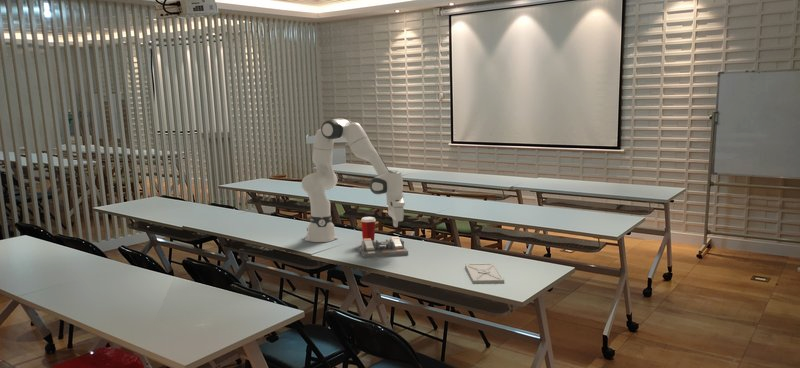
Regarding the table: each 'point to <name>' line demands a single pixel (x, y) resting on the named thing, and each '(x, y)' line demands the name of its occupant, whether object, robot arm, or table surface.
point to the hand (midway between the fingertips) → (395, 226)
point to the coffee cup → (368, 227)
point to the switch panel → (383, 250)
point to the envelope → (484, 273)
